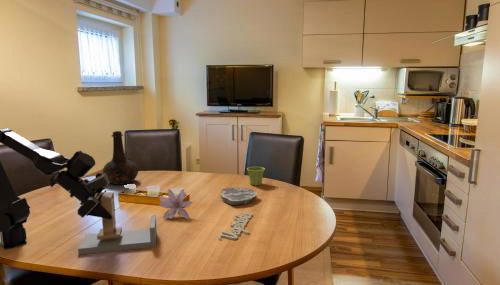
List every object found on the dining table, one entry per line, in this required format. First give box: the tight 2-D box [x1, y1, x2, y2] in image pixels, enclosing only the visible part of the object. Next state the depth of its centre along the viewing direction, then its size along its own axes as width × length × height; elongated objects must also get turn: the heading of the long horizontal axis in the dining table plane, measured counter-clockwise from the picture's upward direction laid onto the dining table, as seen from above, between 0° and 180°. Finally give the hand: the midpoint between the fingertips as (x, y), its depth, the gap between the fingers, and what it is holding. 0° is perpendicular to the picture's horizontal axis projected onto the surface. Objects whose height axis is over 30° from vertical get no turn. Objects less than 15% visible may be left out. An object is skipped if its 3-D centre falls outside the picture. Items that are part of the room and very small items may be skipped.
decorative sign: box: [217, 211, 253, 241], centre depth 136 cm, size 26×1×10 cm
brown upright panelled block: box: [97, 191, 123, 240], centre depth 119 cm, size 6×7×14 cm
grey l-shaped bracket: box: [77, 214, 158, 256], centre depth 121 cm, size 24×11×7 cm, turn 103°
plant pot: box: [246, 166, 266, 187], centre depth 189 cm, size 9×9×9 cm
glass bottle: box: [102, 130, 139, 185], centre depth 190 cm, size 18×18×28 cm
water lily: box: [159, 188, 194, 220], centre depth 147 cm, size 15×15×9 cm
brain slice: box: [220, 187, 258, 206], centre depth 167 cm, size 20×17×3 cm
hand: (112, 214), depth 120 cm, fingers closed on brown upright panelled block, 6 cm apart
